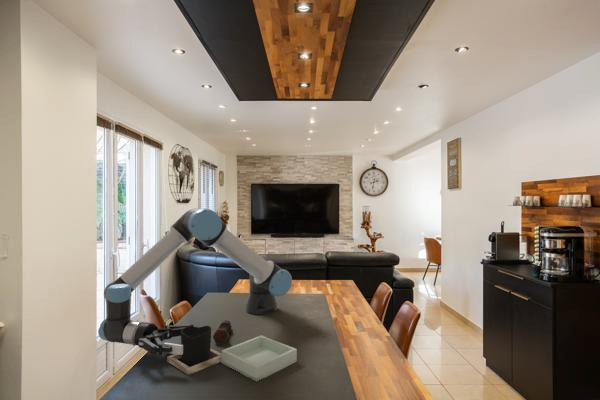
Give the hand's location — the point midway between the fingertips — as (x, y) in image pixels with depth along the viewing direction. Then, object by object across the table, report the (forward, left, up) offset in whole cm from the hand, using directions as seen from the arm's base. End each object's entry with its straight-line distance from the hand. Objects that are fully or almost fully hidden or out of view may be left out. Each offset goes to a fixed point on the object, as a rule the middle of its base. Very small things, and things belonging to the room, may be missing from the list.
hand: (195, 341), depth 109 cm
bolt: (-19, -11, -7) cm, 23 cm away
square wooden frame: (0, 0, -6) cm, 6 cm away
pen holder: (0, 0, -7) cm, 7 cm away
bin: (-13, +16, -6) cm, 22 cm away
